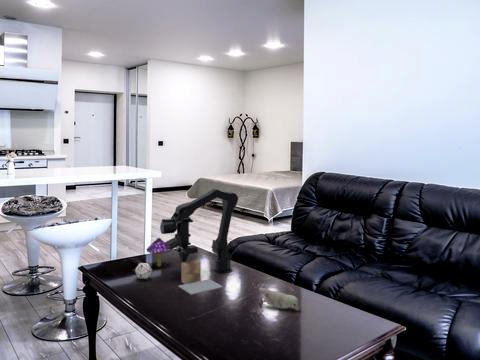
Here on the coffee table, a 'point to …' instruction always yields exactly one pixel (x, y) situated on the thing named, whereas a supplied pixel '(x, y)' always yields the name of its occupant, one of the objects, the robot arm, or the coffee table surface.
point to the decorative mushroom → (158, 249)
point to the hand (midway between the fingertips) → (183, 264)
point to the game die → (143, 270)
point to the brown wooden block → (191, 271)
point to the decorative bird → (279, 299)
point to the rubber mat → (200, 286)
